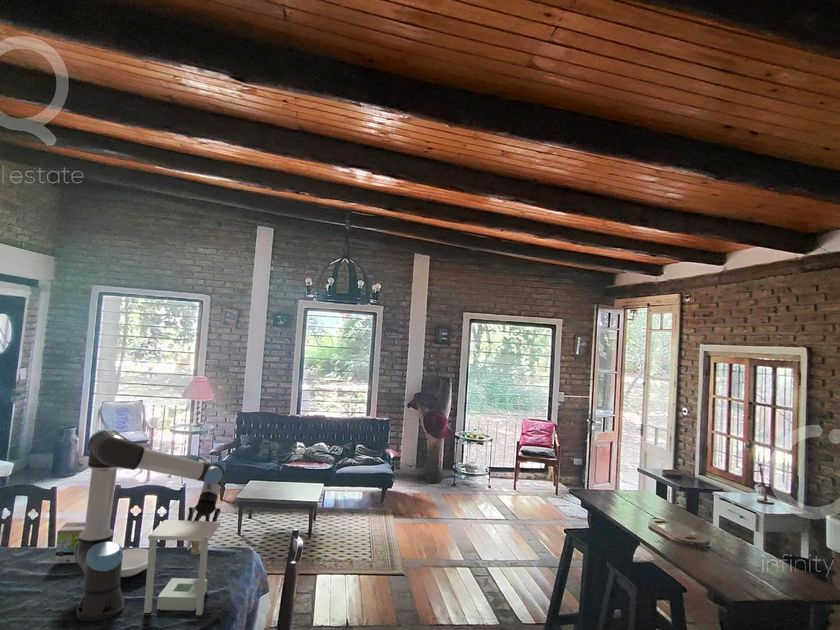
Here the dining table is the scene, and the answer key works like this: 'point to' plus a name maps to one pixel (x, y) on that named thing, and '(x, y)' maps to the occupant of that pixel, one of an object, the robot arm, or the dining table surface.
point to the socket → (180, 589)
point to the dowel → (195, 548)
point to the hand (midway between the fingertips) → (193, 548)
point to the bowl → (134, 561)
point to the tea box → (68, 541)
